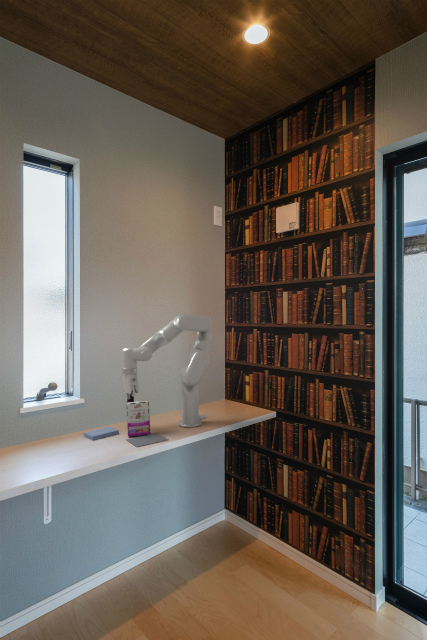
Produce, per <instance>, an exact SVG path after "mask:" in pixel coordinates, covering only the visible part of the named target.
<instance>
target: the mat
mask: <svg viewBox="0 0 427 640" xmlns="http://www.w3.org/2000/svg"><path fill="white" fill-rule="evenodd" d="M125 441H127V442H128V443H129V444H131V445H133V446H134V447H136V448H140V447H144V446H149V445H153V444H157V443H161V442H166V441H169V439H168V438H166V437H165V436H162V435H161V434H159V433H157V432H156V433H150V434H149V435H140V436H134V437H132V438H131V437H130V438H127V439H125Z"/></svg>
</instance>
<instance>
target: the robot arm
mask: <svg viewBox="0 0 427 640" xmlns="http://www.w3.org/2000/svg"><path fill="white" fill-rule="evenodd" d="M213 324H214V323H213V320H212V318H210V317H209V316H206V315H194V314H192V315H191V314H179V315H177V316H175V317H174V318H173V319H172V320H171V321H169V322H168V323H167V324H165V325H164V326H163V327H162V328H161V329H160V330H159V331H157V332H155V334H154V335H153V336H150V338H149V339H148V340H146V341H145V342H144V343H142V344H141V345H140V346H139V347H125V348H122V349H121V355H122V356H121V360H122V361H121V364H122V366H121V367H122V369H121V370H122V375H123V383H122V384H123V386H122V387H123V391H124V393H125V395H126V403H128V402H135V397H136V394H138V393H139V381H138V380H139V379H138V362H148V361H150V360H151V359H152V357H153V354H154V353H155V352H156V351H158V350H159V349H161V348H162V347H164V346H167V345H169V344H170V343H171V342H172V341H174V340H175V339H176V338H177V337H178V336H180V335H181V334H182V333H183V332H184V331H186V332H196V339H195V342H194V344H193V346H192V349H191V350H190V352H189V354H188V360H189V364H188V366H184V367H182V369H181V370H180V372H179V376H178V377H179V385H180V409H181V411H180V412H181V421H179V422H178V426H179V427H181V428H195V427H199V426H202V424H203V421H202V420H206V419H207V418H208V417H207V414H204V415H203V414H200V412H199V407H200V406H199V384H200V383H201V382H202V380H203V378H204V375H205V373H206V370H207V369H208V366H209V363H210V355H209V350H210V348H211V345H212V342H213V332H212V328H213Z"/></svg>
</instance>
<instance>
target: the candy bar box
mask: <svg viewBox="0 0 427 640" xmlns="http://www.w3.org/2000/svg"><path fill="white" fill-rule="evenodd" d="M150 421H151V420H150V402H149V400H139V401H134V402H128V403H127V402H126V426H127V437H128V438H129V437H130V438H131V437H132V438H133V437H140V436H145V435H150V434H151V422H150Z"/></svg>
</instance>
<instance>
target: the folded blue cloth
mask: <svg viewBox="0 0 427 640" xmlns="http://www.w3.org/2000/svg"><path fill="white" fill-rule="evenodd" d="M119 433H120V431H119V429H116V428H113V427H112V426H111V427H110V426H106V427H102V428H98V429H93V430H89V431H85V432H83V437H84V438H86V439H88V440H90V441H96V440H100V439H104V438H109V437H112V436H117V435H119Z"/></svg>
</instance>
